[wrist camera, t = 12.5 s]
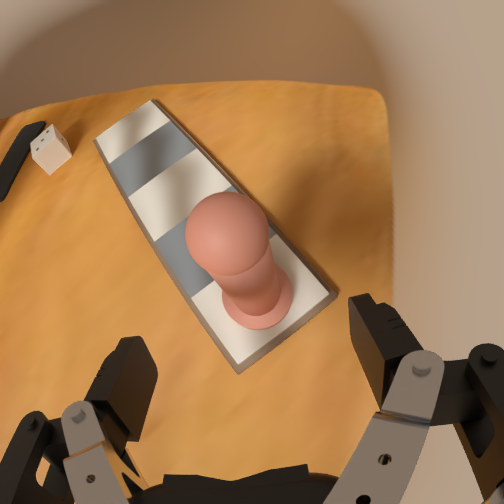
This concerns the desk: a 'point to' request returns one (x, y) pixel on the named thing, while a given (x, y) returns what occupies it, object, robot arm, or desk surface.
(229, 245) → the pawn
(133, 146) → the board
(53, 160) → the die
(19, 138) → the phone
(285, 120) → the desk surface
